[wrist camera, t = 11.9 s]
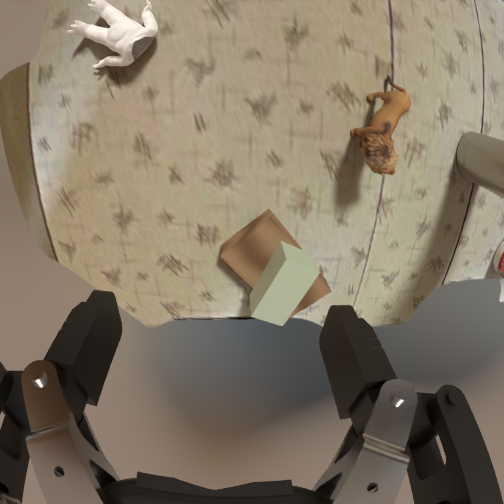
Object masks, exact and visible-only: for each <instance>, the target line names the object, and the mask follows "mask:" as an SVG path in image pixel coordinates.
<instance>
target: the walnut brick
mask: <svg viewBox="0 0 504 504" xmlns="http://www.w3.org/2000/svg"><path fill="white" fill-rule="evenodd" d="M280 241H282V242H285V243H287V244H290V245H292V246H294V247H297V248H299V249H301V250H302V248H301V247H300V246H299V245H298V243H297V242H296V241H295V240H294V239H293V237H292V236H291V235H290V234H289V232H288V231H287V230H286V229H285V227H284V226H283V225H282V224H281V223H280V221H279V220H278V219H277V218H276V216H275V215H274V214H273V213H272V212H271V210H270V209H268V210H267V211H265V212H264V213H263V214H261V215H260V216H259V217H257V218H256V219H255V220H253V221H252V222H251V223H249V224H248V225H247V226H245V227H244V228H243V229H241V230H240V231H239V232H237V233H236V234H235V235H234V236H232V237H231V238H230V239H228V240H227V241H226V242H224V243H223V244H222V245H221V252H220V257H221V258H222V259H223V260H224V261H225V262H226V263H227V264H228V265H229V266H230V267H231V268H232V269H233V270H234V271H235V272H236V273H237V274H238V275H239V276H240V277H241V278H242V279H243V280H244V281H245V282H246V283H247V284H248V285H249V286H250V287H251V288H252V289H253V288H254V286H255V284H256V283H257V281H258V279H259V277H260V276H261V274H262V272H263V271H264V269H265V267H266V265H267V264H268V262H269V260H270V258H271V257H272V255H273V253H274V251H275V250H276V248H277V246H278V244H279V243H280ZM319 272H320V271H319ZM330 292H331V290H330V288H329V286H328V283H327V281H326V279H325V278H324V277H323V275H322V274H321V273H319V275H318V276H317V278H316V279H315V281H314V282H313V284H312V285H311V287H310V288H309V290H308V291H307V292H306V294H305V295H304V297H303V298H302V300H301V301H300V302H299V304H298V305H297V307H296V308H295V309H294V311H293V312H292V314H291V315H290V316H289V318H290V317H292V316H293V315H295V314H297V313H298V312H300V311H301V310H303V309H305V308H306V307H308V306H309V305H311V304H313V303H314V302H316V301H317V300H319V299H320V298H322V297H324V296H325V295H327V294H328V293H330Z"/></svg>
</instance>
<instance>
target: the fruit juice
mask: <svg viewBox="0 0 504 504" xmlns="http://www.w3.org/2000/svg"><path fill="white" fill-rule="evenodd" d="M493 267H494V269H495V270H496V272H497V273H499V274H500V275H501V276H502V277H503V278H504V241H503V242H502V243H501V244H500V245H499V247H498V249H497V251H496V253H495V255H494V259H493Z"/></svg>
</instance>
